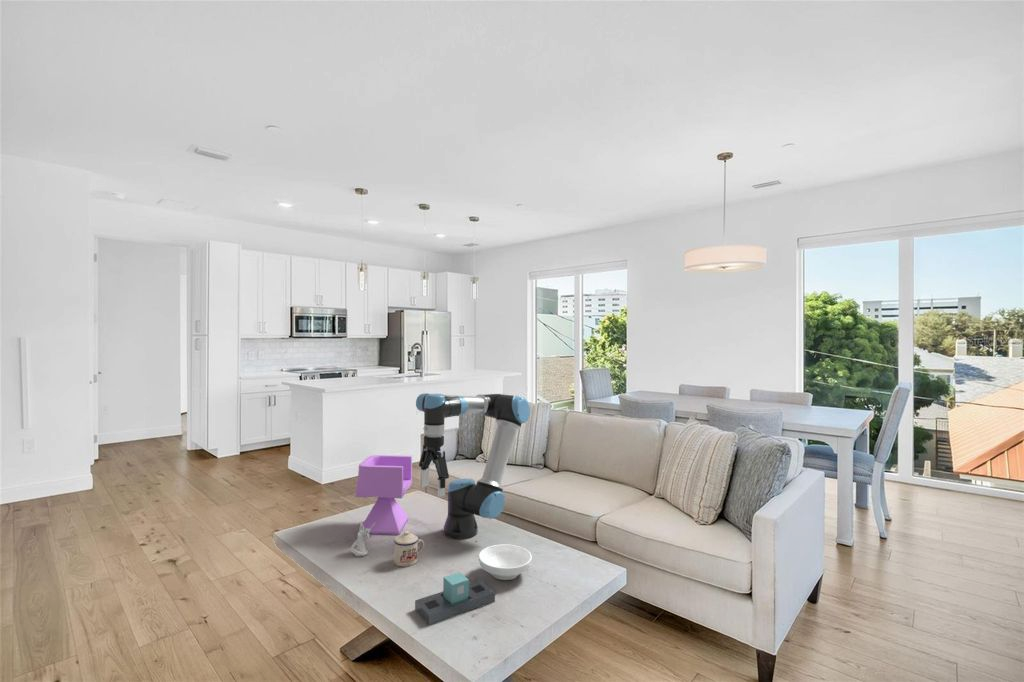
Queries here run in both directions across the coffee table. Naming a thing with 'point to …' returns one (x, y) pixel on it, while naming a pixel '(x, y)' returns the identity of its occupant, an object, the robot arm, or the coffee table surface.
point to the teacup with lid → (406, 549)
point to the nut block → (455, 588)
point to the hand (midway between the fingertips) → (432, 491)
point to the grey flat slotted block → (440, 609)
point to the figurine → (361, 541)
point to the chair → (385, 491)
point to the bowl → (505, 560)
